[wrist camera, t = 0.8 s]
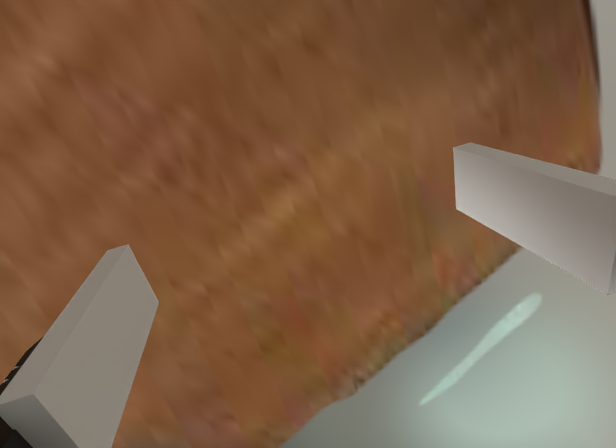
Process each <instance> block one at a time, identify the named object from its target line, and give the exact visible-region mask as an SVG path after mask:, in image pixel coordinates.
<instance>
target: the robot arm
mask: <svg viewBox="0 0 616 448" xmlns="http://www.w3.org/2000/svg"><path fill="white" fill-rule="evenodd" d="M453 154H454V174H455V193H456V209H457V210H459V211H461V212H463V213H464V214H466V215H468V216H470V217H471V218H473V219H475V220H477V221H478V222H480V223H482V224H484V225H486V226H487V227H489V228H491V229H493V230H494V231H496V232H498V233H500V234H501V235H503V236H505V237H507V238H508V239H510V240H512V241H514V242H515V243H517V244H519V245H521V246H522V247H524V248H526V249H528V250H530V251H531V252H533V253H535V254H537V255H538V256H540V257H542V258H544V259H545V260H547V261H549V262H551V263H552V264H554V265H556V266H558V267H559V268H561V269H563V270H565V271H567V272H568V273H570V274H572V275H574V276H575V277H577V278H579V279H581V280H582V281H584V282H586V283H588V284H589V285H591V286H593V287H594V288H596V289H598V290H600V291H602V292H604V293H605V294H607V295H609V294H612V293H615V292H616V180H613V179H610V178H606V177H602V176H599V175H595V174H591V173H587V172H583V171H579V170H575V169H571V168H567V167H564V166H560V165H556V164H552V163H548V162H544V161H540V160H536V159H532V158H529V157H525V156H521V155H517V154H513V153H509V152H505V151H501V150H497V149H494V148H490V147H486V146H482V145H478V144H474V143H467V144H464V145H460V146H457V147H454V148H453ZM158 304H159V301H158V300H157V298H156V296H155V294H154V292H153V290H152V288H151V286H150V284H149V283H148V281H147V279H146V277H145V275H144V273H143V271H142V269H141V267H140V266H139V264H138V262H137V260H136V258H135V256H134V254H133V252H132V250H131V249H130V247H129V245H128V244H127V245H124V246H120V247H117V248H114V249H110V250H107V251H106V253H105V254H104V256H103V257H102V258H101V260H100V261H99V262H98V264H97V265H96V266H95V268H94V269H93V270H92V272H91V273H90V275H89V276H88V277H87V279H86V280H85V281H84V283H83V284H82V285H81V287H80V288H79V289H78V291H77V292H76V294H75V295H74V296H73V298H72V299H71V300H70V302H69V303H68V304H67V306H66V307H65V308H64V310H63V311H62V313H61V314H60V315H59V317H58V318H57V319H56V321H55V322H54V323H53V325H52V326H51V327H50V329H49V330H48V332H47V333H46V334H45V336H43V337H42V338H41V339H40V340H39V341H38V342H37V343H35V344H34V345H33V346H32V347H31V348H30V349H29V350H27V351H26V352H25V354H24V355H23V356H22V358H21V359H20V360H19V362H18V363H17V364H16V366H15V367H14V368H15V370H12V371H11V372H10V373H9V375H8V376H7V377H6V379H5V380H4V381H5V383H3V384H1V385H0V448H111V447H112V444H113V441H114V438H115V435H116V432H117V429H118V426H119V423H120V420H121V417H122V414H123V411H124V407H125V404H126V401H127V398H128V395H129V392H130V389H131V386H132V383H133V380H134V377H135V374H136V371H137V368H138V365H139V362H140V359H141V356H142V353H143V350H144V347H145V344H146V341H147V338H148V335H149V332H150V329H151V326H152V322H153V319H154V316H155V313H156V310H157V307H158Z"/></svg>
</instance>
